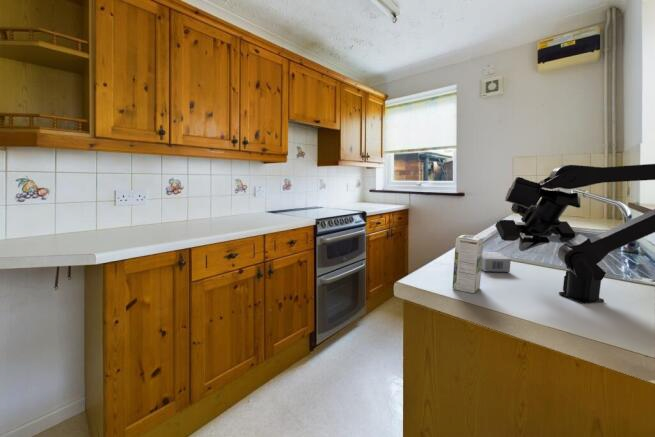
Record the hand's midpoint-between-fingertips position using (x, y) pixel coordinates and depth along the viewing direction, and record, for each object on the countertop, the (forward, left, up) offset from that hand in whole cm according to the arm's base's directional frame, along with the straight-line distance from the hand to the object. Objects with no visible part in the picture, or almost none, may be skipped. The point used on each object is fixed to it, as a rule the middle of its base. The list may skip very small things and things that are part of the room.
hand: (520, 249), depth 89 cm
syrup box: (-4, +20, -9) cm, 22 cm away
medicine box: (+7, +2, -7) cm, 9 cm away
